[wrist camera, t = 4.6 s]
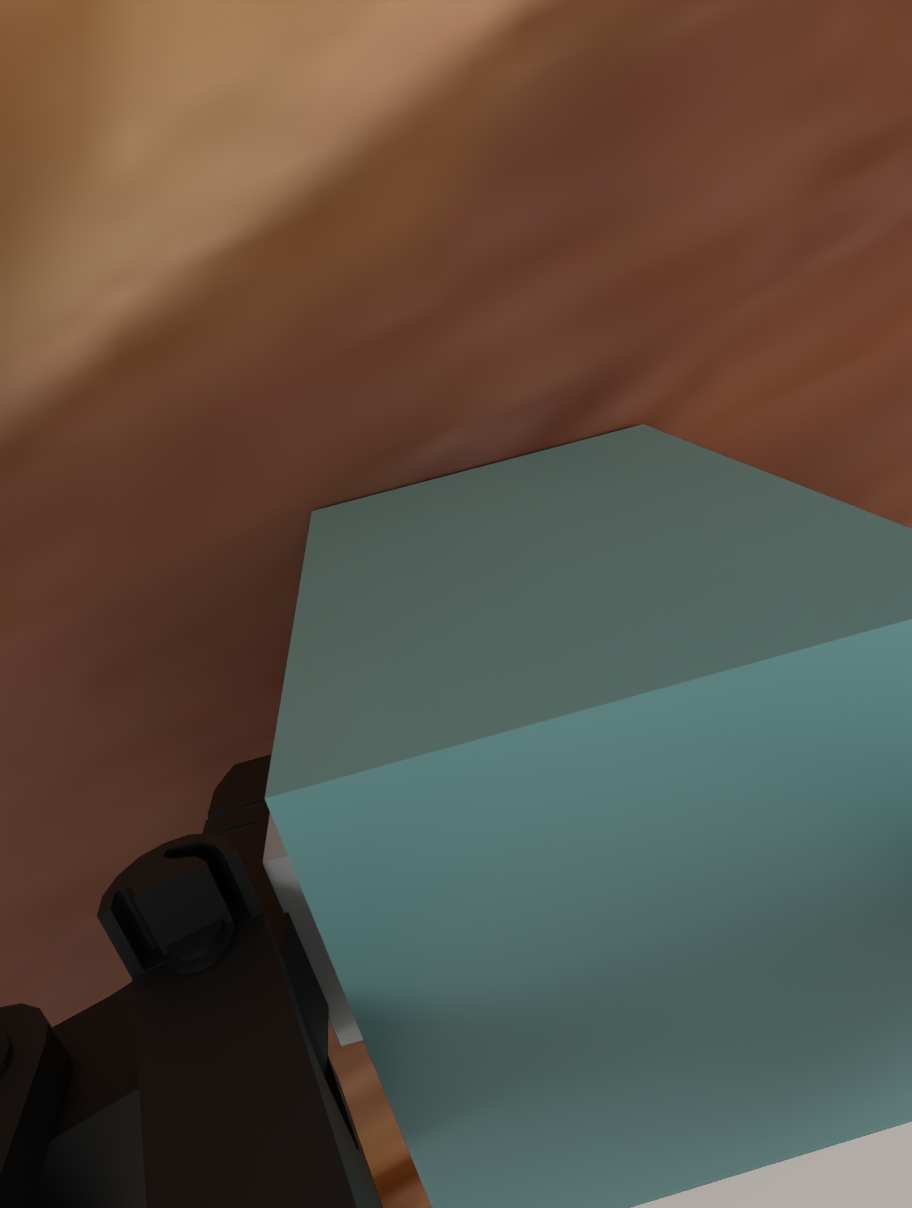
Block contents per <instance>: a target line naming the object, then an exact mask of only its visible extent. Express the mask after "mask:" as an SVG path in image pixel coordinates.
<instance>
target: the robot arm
mask: <svg viewBox="0 0 912 1208" xmlns="http://www.w3.org/2000/svg"><path fill="white" fill-rule="evenodd" d="M271 756H272V754H271V755H268V756H264V757H261V758H257V759H253V760H250V761H246V762H242V763H239V764H235V765H234V766H233V767H232V768H231V770H230V771H229V772H228V773H227V775H226V776H225V777H224V778H223V780H222V781H221V782H220V784H219V785H218V786H217V787H216V789H215V790H214V793H213V797H212V801H211V804H210V808H209V812H208V820H206V823H205V826H204V830H203V834H194V835H187V836H184V837H181V838H178V839H175V840H172V841H169V842H166V843H164V844H162V845H160V846H158V847H156V848H155V849H153V850H151V851H150V852H148V853H146V854H144V855H143V856H141V857H139V858H138V859H137V860H135V861H134V862H133V863H132V864H131V865H130V866H128V867H127V868H126V869H125V870H124V871H123V872H121V873H120V874H119V875H118V876H117V877H116V879H115V880H114V881H113V883H112V884H111V885H110V887H109V888H108V889H107V891H106V892H105V894H104V895H103V896H102V900H101V903H100V907H99V910H98V914H97V917H98V919H99V920H100V922H101V924H102V926H103V928H104V929H105V931H106V933H107V935H108V936H109V938H110V940H111V942H112V943H113V945H114V947H115V949H116V951H117V952H118V954H119V956H120V958H121V959H122V961H123V963H124V965H125V967H126V968H127V970H128V972H129V974H130V975H131V977H132V982H131V983H129V984H128V985H127V986H125V987H124V988H122V989H120V990H119V991H117V992H116V993H114V994H112V995H111V996H109V997H108V998H106V999H104V1000H102V1001H100V1002H98V1003H97V1004H95V1005H93V1006H91V1007H89V1008H87V1009H86V1010H84V1011H82V1012H80V1013H78V1014H76V1015H75V1016H73V1017H71V1018H69V1019H67V1020H65V1021H63V1022H62V1023H60V1024H58V1025H56V1026H54V1027H51V1025H50V1024H49V1022H48V1021H47V1019H46V1018H45V1016H44V1015H43V1013H42V1011H41V1010H40V1008H36V1007H33V1006H29V1005H26V1004H16V1005H11V1006H5V1007H0V1208H383V1207H382V1204H381V1201H380V1198H379V1195H378V1192H377V1189H376V1187H375V1184H374V1181H373V1178H372V1175H371V1172H370V1169H369V1166H368V1163H367V1160H366V1157H365V1155H364V1152H363V1149H362V1146H361V1143H360V1140H359V1137H358V1134H357V1131H356V1128H355V1125H354V1123H353V1120H352V1117H351V1114H350V1111H349V1108H348V1105H347V1102H346V1099H345V1096H344V1094H343V1091H342V1088H341V1085H340V1082H339V1079H338V1077H337V1075H336V1072H335V1070H334V1068H333V1066H332V1063H331V1061H330V1059H329V1057H328V1016H329V1019H330V1021H331V1023H332V1025H333V1028H334V1030H335V1032H336V1035H337V1037H338V1039H339V1042H340V1044H341V1046H344V1045H348V1044H351V1043H354V1042H358V1041H361V1040H363V1038H362V1035H361V1033H360V1030H359V1028H358V1026H357V1023H356V1021H355V1018H354V1016H353V1013H352V1011H351V1009H350V1006H349V1004H348V1001H347V999H346V996H345V994H344V991H343V989H342V987H341V984H340V982H339V979H338V977H337V974H336V972H335V969H334V967H333V965H332V962H331V960H330V957H329V955H328V952H327V950H326V947H325V945H324V943H323V940H322V938H321V935H320V933H319V930H318V928H317V925H316V923H315V921H314V918H313V916H312V913H311V911H310V908H309V906H308V903H307V901H306V899H305V896H304V894H303V891H302V889H301V886H300V884H299V882H298V879H297V877H296V874H295V872H294V869H293V867H292V864H291V862H290V860H289V857H288V855H287V852H286V850H285V847H284V845H283V842H282V840H281V838H280V835H279V833H278V830H277V828H276V825H275V823H274V820H273V818H272V816H271V813H270V811H269V808H268V806H267V803H266V801H265V793H266V787H267V781H268V775H269V769H270V763H271Z"/></svg>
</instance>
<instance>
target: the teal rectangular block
mask: <svg viewBox="0 0 912 1208" xmlns="http://www.w3.org/2000/svg"><path fill="white" fill-rule="evenodd" d="M265 801H266V803H267V806H268V808H269V811H270V813H271V816H272V818H273V820H274V823H275V825H276V828H277V830H278V833H279V835H280V838H281V840H282V842H283V845H284V847H285V850H286V852H287V855H288V857H289V860H290V862H291V864H292V867H293V869H294V872H295V874H296V877H297V879H298V882H299V884H300V886H301V889H302V891H303V894H304V896H305V899H306V901H307V903H308V906H309V908H310V911H311V913H312V916H313V918H314V921H315V923H316V925H317V928H318V930H319V933H320V935H321V938H322V940H323V943H324V945H325V947H326V950H327V952H328V955H329V957H330V960H331V962H332V965H333V967H334V969H335V972H336V974H337V977H338V979H339V982H340V984H341V987H342V989H343V991H344V994H345V996H346V999H347V1001H348V1004H349V1006H350V1009H351V1011H352V1013H353V1016H354V1018H355V1021H356V1023H357V1026H358V1028H359V1030H360V1033H361V1035H362V1038H363V1040H364V1043H365V1045H366V1048H367V1050H368V1052H369V1055H370V1057H371V1060H372V1062H373V1065H374V1067H375V1070H376V1072H377V1074H378V1077H379V1079H380V1082H381V1084H382V1087H383V1089H384V1092H385V1094H386V1096H387V1099H388V1101H389V1104H390V1106H391V1109H392V1111H393V1114H394V1116H395V1118H396V1121H397V1123H398V1126H399V1128H400V1131H401V1133H402V1135H403V1138H404V1140H405V1143H406V1145H407V1148H408V1150H409V1153H410V1155H411V1157H412V1160H413V1162H414V1165H415V1167H416V1170H417V1172H418V1175H419V1177H420V1179H421V1182H422V1184H423V1187H424V1189H425V1192H426V1194H427V1197H428V1199H429V1201H430V1204H431V1206H432V1208H630V1207H634V1206H637V1205H640V1204H643V1203H647V1202H650V1201H653V1200H657V1199H659V1198H663V1197H666V1196H669V1195H673V1194H676V1193H679V1192H683V1191H686V1190H689V1189H692V1188H696V1187H699V1186H702V1185H706V1184H709V1183H712V1182H715V1181H718V1180H722V1179H725V1178H728V1177H732V1176H735V1175H738V1174H741V1173H745V1172H748V1171H751V1170H754V1169H758V1168H761V1167H764V1166H767V1165H771V1164H774V1163H777V1162H781V1161H784V1160H787V1159H790V1158H793V1157H797V1156H800V1155H803V1154H807V1153H810V1152H813V1151H816V1150H820V1149H823V1148H826V1147H829V1146H833V1145H836V1144H839V1143H842V1142H846V1141H849V1140H852V1139H856V1138H859V1137H862V1136H866V1135H869V1134H872V1133H875V1132H879V1131H882V1130H885V1129H888V1128H892V1127H895V1126H898V1125H901V1124H905V1123H908V1122H911V1121H912V529H911V528H909V527H906V526H903V525H901V524H898V523H896V522H893V521H891V520H888V519H886V518H883V517H880V516H878V515H875V514H873V513H870V512H868V511H865V510H862V509H860V508H857V507H855V506H852V505H850V504H847V503H844V502H842V501H839V500H837V499H834V498H832V497H829V496H827V495H824V494H821V493H819V492H816V491H814V490H811V489H809V488H806V487H803V486H801V485H798V484H796V483H793V482H791V481H788V480H785V479H783V478H780V477H778V476H775V475H773V474H770V473H768V472H765V471H762V470H760V469H757V468H755V467H752V466H750V465H747V464H744V463H742V462H739V461H737V460H734V459H732V458H729V457H727V456H724V455H721V454H719V453H716V452H714V451H711V450H709V449H706V448H703V447H701V446H698V445H696V444H693V443H691V442H688V441H685V440H683V439H680V438H678V437H675V436H673V435H670V434H668V433H665V432H662V431H660V430H657V429H655V428H652V427H650V426H647V425H644V424H642V425H638V426H634V427H630V428H627V429H623V430H619V431H615V432H611V433H608V434H604V435H600V436H596V437H592V438H589V439H585V440H581V441H577V442H573V443H570V444H566V445H562V446H558V447H554V448H551V449H547V450H543V451H539V452H535V453H531V454H528V455H524V456H520V457H516V458H512V459H509V460H505V461H501V462H497V463H493V464H490V465H486V466H482V467H478V468H474V469H471V470H467V471H463V472H459V473H455V474H451V475H448V476H444V477H440V478H436V479H432V480H429V481H425V482H421V483H417V484H413V485H410V486H406V487H402V488H398V489H394V490H391V491H387V492H383V493H379V494H375V495H371V496H368V497H364V498H360V499H356V500H352V501H349V502H345V503H341V504H337V505H333V506H330V507H326V508H322V509H318V510H314V511H312V513H311V519H310V525H309V531H308V537H307V543H306V549H305V555H304V561H303V568H302V574H301V580H300V586H299V592H298V598H297V604H296V610H295V616H294V622H293V628H292V635H291V641H290V647H289V653H288V659H287V665H286V671H285V677H284V683H283V689H282V696H281V702H280V708H279V714H278V720H277V726H276V732H275V738H274V744H273V750H272V756H271V763H270V769H269V775H268V781H267V787H266V793H265Z"/></svg>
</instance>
